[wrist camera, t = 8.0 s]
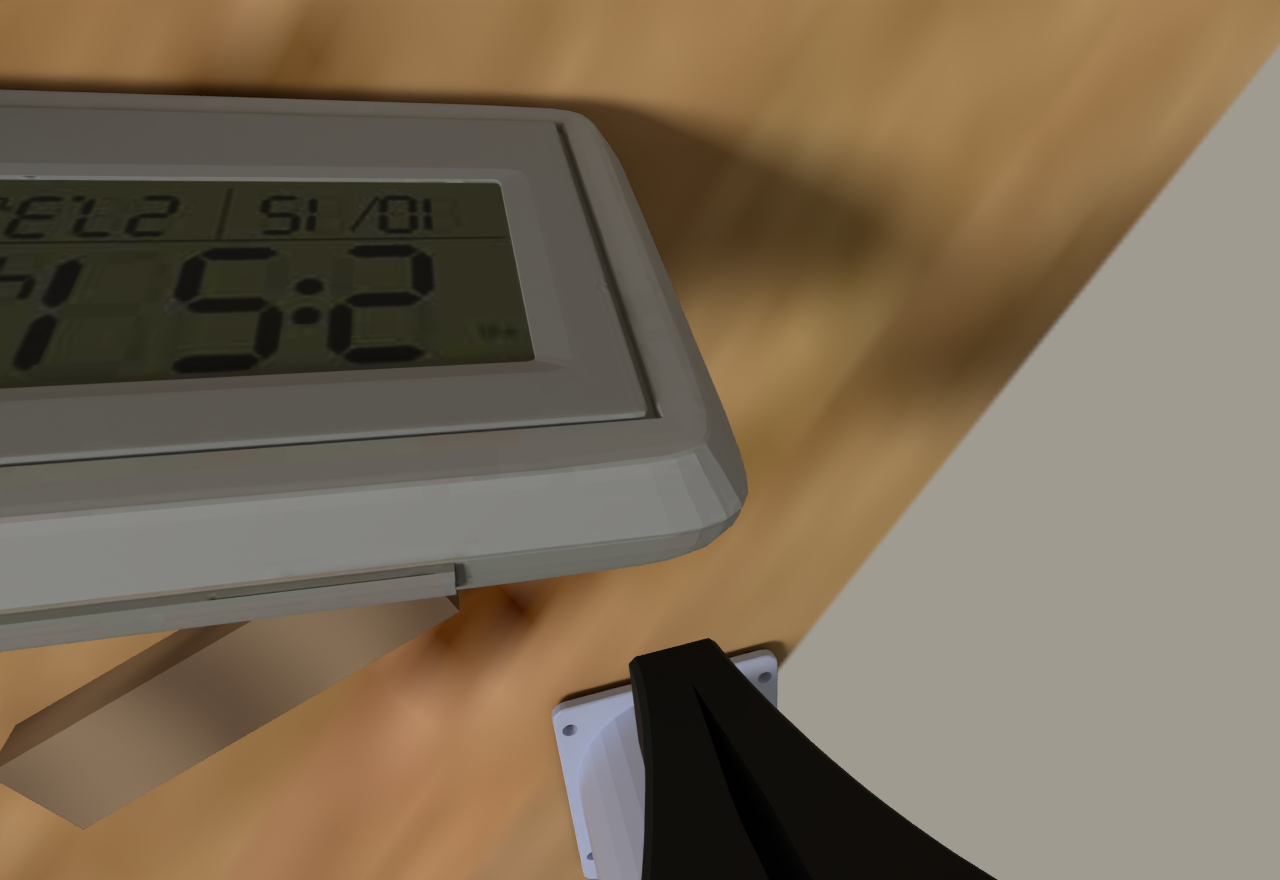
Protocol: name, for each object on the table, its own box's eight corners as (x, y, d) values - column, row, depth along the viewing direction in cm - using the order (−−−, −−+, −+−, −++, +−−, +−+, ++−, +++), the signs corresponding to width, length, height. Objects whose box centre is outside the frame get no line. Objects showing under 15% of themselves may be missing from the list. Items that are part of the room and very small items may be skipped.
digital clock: (640, 127, 17) (880, 215, 8) (564, 462, 21) (674, 780, 12) (-299, -113, 12) (-2461, -589, 3) (-185, 393, 16) (-1014, 873, 7)
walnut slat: (394, 497, 21) (393, 538, 19) (456, 567, 22) (459, 611, 20) (21, 714, 21) (-14, 774, 19) (109, 769, 22) (83, 829, 21)
